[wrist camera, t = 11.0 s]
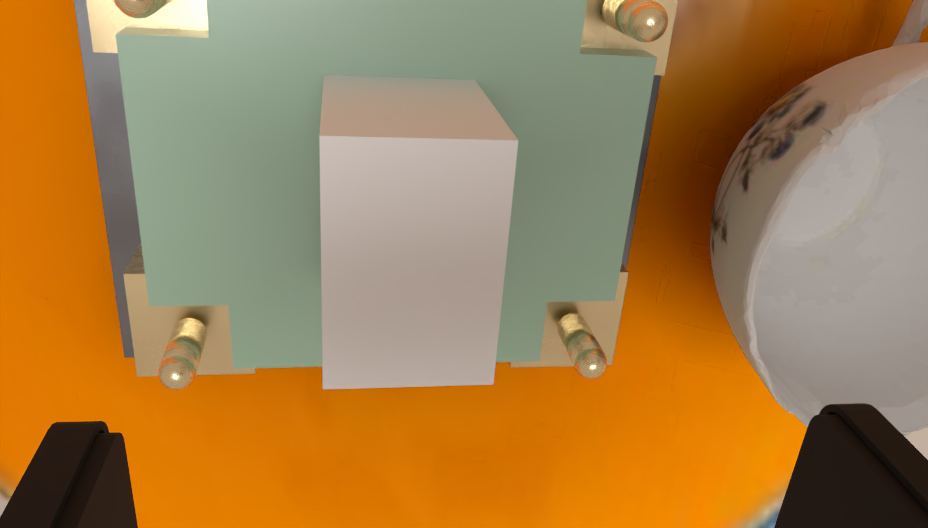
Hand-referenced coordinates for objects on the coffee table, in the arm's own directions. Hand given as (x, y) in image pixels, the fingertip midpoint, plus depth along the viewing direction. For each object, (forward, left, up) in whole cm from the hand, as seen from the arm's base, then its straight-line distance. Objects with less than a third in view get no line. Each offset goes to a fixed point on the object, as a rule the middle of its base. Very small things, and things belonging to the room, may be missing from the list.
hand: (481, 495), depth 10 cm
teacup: (-16, 0, -18) cm, 24 cm away
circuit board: (0, 0, -14) cm, 14 cm away
